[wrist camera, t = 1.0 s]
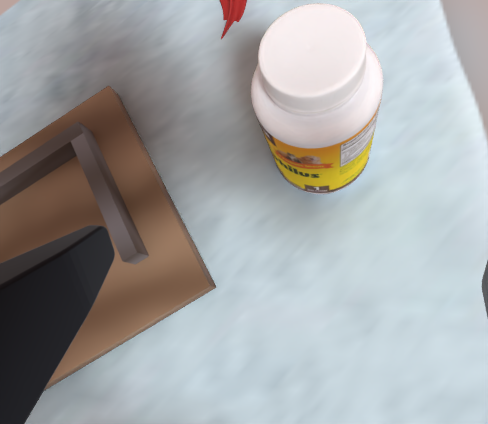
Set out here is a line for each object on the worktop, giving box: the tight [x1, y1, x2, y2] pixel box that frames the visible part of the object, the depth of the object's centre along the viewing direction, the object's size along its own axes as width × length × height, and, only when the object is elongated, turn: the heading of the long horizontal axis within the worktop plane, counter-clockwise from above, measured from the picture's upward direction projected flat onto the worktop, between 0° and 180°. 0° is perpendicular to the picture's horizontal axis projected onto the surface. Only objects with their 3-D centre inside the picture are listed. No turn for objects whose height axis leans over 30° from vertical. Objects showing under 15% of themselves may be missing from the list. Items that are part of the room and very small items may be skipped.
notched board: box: [0, 86, 216, 390], centre depth 25 cm, size 16×16×3 cm
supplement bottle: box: [251, 3, 383, 194], centre depth 19 cm, size 6×6×10 cm
